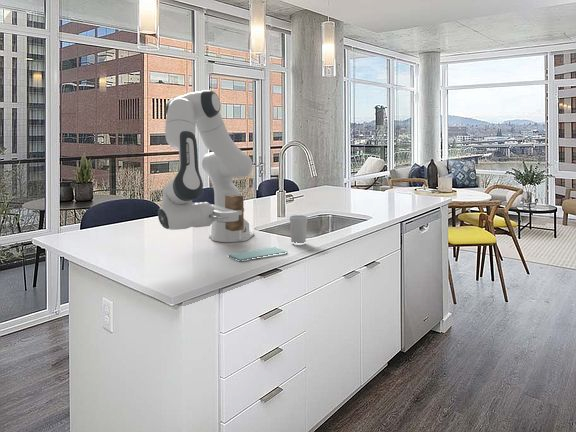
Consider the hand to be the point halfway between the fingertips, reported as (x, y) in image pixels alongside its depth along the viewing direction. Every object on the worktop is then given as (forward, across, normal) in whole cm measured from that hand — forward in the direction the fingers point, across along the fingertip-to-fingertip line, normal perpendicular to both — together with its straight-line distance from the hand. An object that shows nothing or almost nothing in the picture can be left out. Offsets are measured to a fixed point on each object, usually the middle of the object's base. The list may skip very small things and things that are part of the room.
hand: (236, 210), depth 192 cm
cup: (+35, +7, +19) cm, 41 cm away
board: (+10, 0, +19) cm, 21 cm away
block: (-1, 0, +7) cm, 7 cm away
